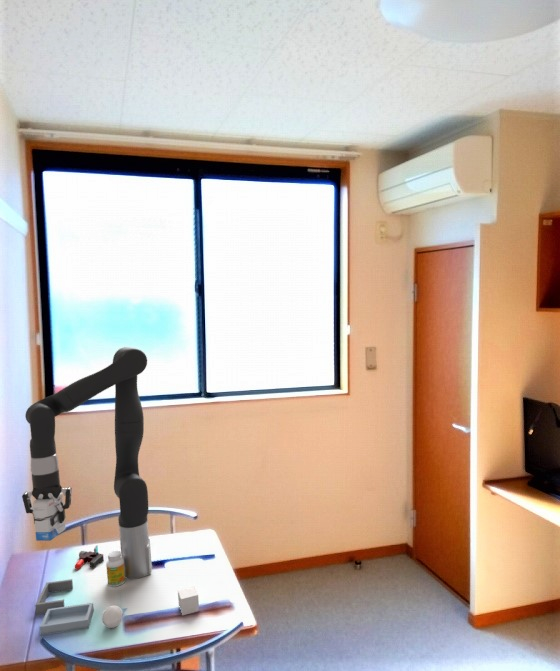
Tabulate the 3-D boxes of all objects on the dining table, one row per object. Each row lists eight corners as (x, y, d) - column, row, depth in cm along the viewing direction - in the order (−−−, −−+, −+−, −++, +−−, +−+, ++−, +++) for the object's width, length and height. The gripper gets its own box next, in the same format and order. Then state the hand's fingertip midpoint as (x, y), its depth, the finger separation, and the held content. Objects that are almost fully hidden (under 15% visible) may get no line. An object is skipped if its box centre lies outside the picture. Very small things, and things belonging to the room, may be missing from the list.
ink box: (50, 541, 158) (46, 502, 157) (35, 541, 159) (31, 502, 158) (66, 528, 166) (63, 491, 165) (52, 528, 167) (48, 491, 166)
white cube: (195, 602, 159) (194, 586, 159) (199, 611, 154) (198, 594, 154) (178, 606, 157) (177, 590, 157) (182, 615, 153) (181, 599, 152)
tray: (48, 617, 155) (47, 609, 155) (93, 610, 157) (93, 602, 157) (40, 635, 147) (39, 626, 147) (88, 628, 149) (87, 619, 149)
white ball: (124, 629, 147) (122, 610, 147) (102, 634, 146) (100, 614, 145) (123, 614, 155) (122, 595, 154) (103, 618, 153) (101, 599, 153)
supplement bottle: (109, 589, 169) (107, 559, 168) (106, 581, 174) (104, 552, 173) (126, 583, 171) (124, 554, 171) (123, 576, 176) (121, 548, 175)
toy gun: (83, 554, 194) (82, 542, 194) (108, 560, 189) (107, 547, 188) (61, 567, 185) (60, 554, 185) (87, 574, 180) (86, 560, 180)
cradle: (73, 588, 171) (72, 579, 170) (64, 610, 158) (63, 600, 158) (47, 591, 169) (46, 582, 169) (36, 614, 157) (35, 604, 157)
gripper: (72, 463, 166) (77, 515, 167) (23, 468, 163) (28, 521, 165) (67, 470, 158) (72, 525, 160) (15, 476, 156) (21, 532, 157)
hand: (50, 523), depth 162 cm, fingers closed on ink box, 6 cm apart
